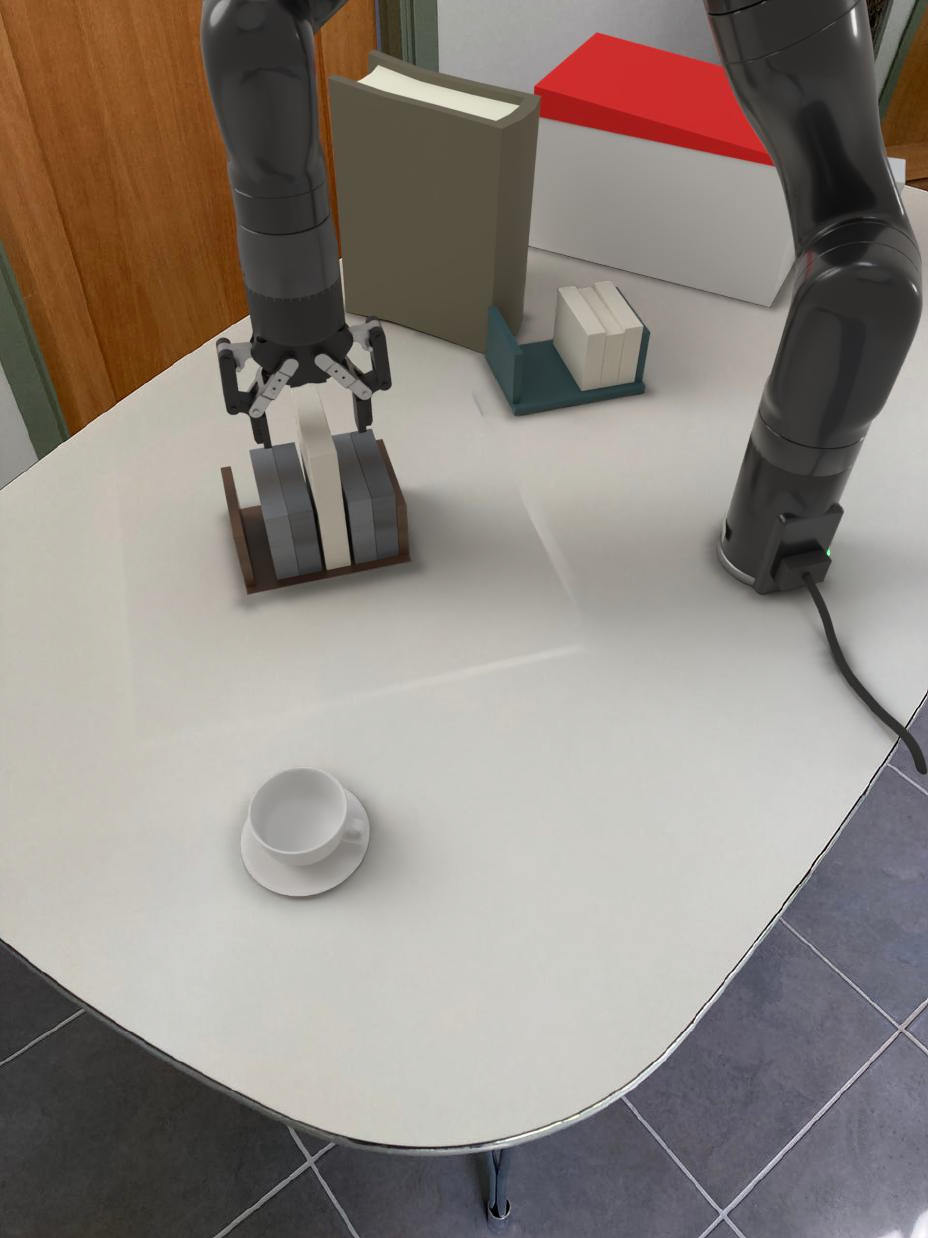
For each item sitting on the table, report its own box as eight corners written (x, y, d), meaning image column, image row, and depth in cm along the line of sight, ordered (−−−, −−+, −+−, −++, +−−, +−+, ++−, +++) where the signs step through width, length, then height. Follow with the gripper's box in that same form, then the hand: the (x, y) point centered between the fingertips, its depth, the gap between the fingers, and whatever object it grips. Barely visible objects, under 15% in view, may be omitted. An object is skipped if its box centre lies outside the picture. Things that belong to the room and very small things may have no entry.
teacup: (223, 886, 72) (211, 858, 68) (265, 774, 78) (255, 742, 75) (352, 909, 71) (346, 881, 67) (383, 793, 77) (379, 762, 74)
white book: (351, 565, 92) (337, 452, 82) (326, 570, 92) (309, 457, 81) (331, 498, 99) (316, 384, 88) (308, 502, 98) (290, 389, 88)
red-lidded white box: (580, 183, 146) (594, 31, 130) (808, 236, 136) (854, 78, 120) (523, 244, 134) (532, 85, 118) (769, 307, 124) (814, 142, 108)
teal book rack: (644, 392, 112) (655, 329, 106) (514, 416, 109) (517, 352, 103) (606, 336, 119) (615, 274, 113) (484, 357, 117) (485, 293, 110)
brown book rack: (412, 568, 94) (408, 499, 87) (248, 601, 91) (231, 533, 84) (385, 488, 101) (379, 420, 94) (233, 517, 98) (215, 448, 91)
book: (527, 324, 122) (548, 91, 101) (494, 361, 117) (509, 124, 95) (383, 277, 128) (373, 49, 107) (345, 311, 123) (328, 77, 102)
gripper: (202, 307, 70) (240, 476, 82) (392, 280, 73) (401, 447, 85) (193, 256, 75) (230, 423, 87) (371, 233, 77) (382, 398, 90)
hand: (314, 435), depth 86 cm, fingers open, 8 cm apart
